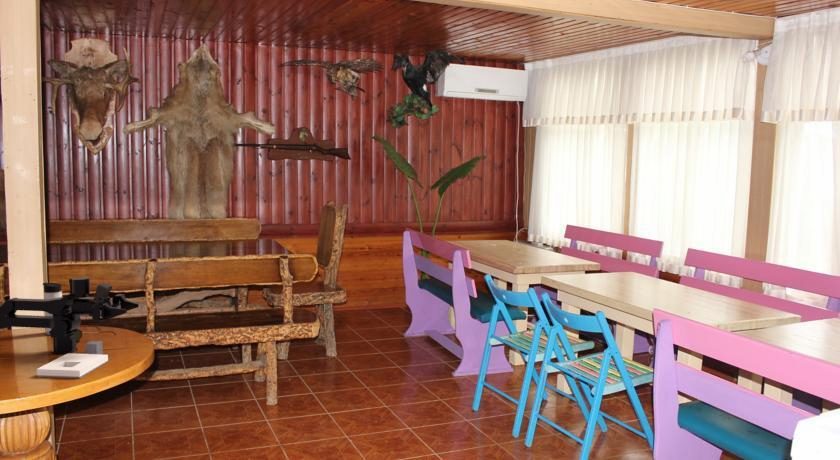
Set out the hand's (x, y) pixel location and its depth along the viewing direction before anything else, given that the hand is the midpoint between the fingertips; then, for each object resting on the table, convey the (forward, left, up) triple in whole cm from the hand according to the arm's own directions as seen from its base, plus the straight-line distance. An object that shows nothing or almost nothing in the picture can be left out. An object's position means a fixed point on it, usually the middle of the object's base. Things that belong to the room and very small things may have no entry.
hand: (132, 308), depth 249 cm
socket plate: (-11, -19, -16) cm, 28 cm away
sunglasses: (-27, +22, -17) cm, 39 cm away
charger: (-12, -4, -17) cm, 21 cm away
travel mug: (-43, +24, -17) cm, 52 cm away
